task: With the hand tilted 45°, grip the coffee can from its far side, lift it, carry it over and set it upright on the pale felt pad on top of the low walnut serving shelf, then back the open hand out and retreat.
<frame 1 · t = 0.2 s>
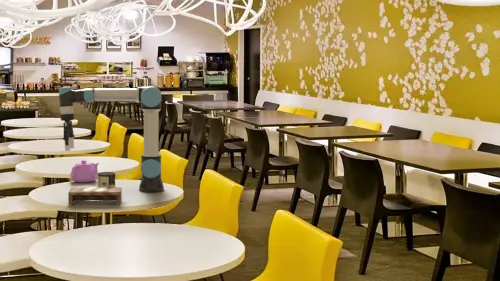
hand: (69, 149, 405), 27 cm above the table, tool pointing down, fingers open, 13 cm apart
teapot: (86, 181, 451), on the table
coffee can: (106, 197, 404), on the table
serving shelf: (95, 202, 388), on the table
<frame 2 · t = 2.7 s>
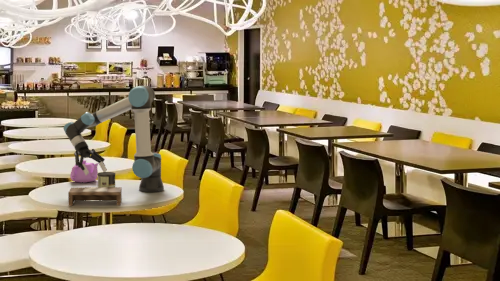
hand: (96, 172, 407), 14 cm above the table, tool tilted 45°, fingers open, 13 cm apart
nothing on the table moved.
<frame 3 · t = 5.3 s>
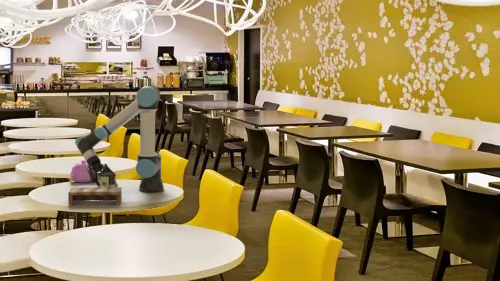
hand: (110, 188, 402), 6 cm above the table, tool tilted 45°, fingers closed on coffee can, 10 cm apart
coffee can: (106, 197, 404), on the table, touching gripper
everything else where it was.
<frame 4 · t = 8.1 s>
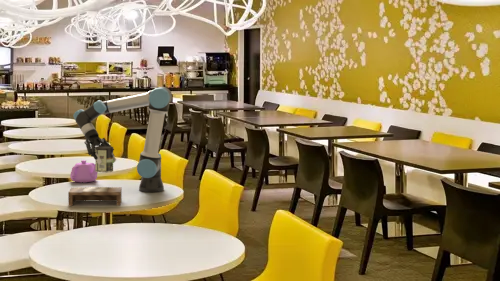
hand: (107, 162, 399), 21 cm above the table, tool tilted 45°, fingers closed on coffee can, 10 cm apart
coffee can: (104, 171, 401), point 15 cm above the table, touching gripper
everything else where it was.
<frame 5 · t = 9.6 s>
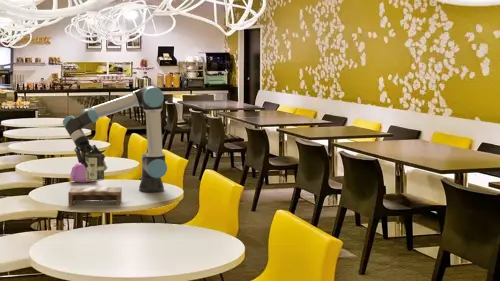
hand: (98, 170, 384), 19 cm above the table, tool tilted 45°, fingers closed on coffee can, 10 cm apart
coffee can: (95, 179, 386), point 13 cm above the table, touching gripper
everything else where it was.
when the fingers open (15 cm above the table, at t = 10.9 s): coffee can drops 2 cm, resting on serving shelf.
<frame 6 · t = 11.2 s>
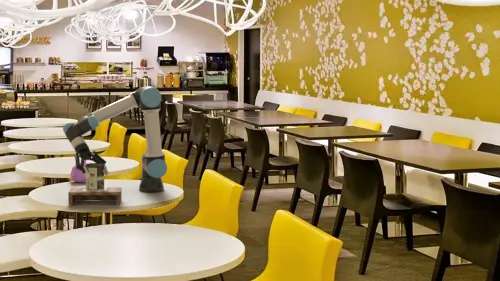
hand: (98, 175, 385), 16 cm above the table, tool tilted 45°, fingers open, 13 cm apart
coffee can: (95, 189, 387), point 8 cm above the table, touching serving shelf
everything else where it was.
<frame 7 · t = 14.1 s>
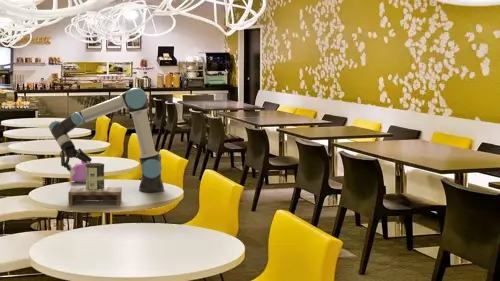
hand: (83, 173, 392), 16 cm above the table, tool tilted 45°, fingers open, 13 cm apart
nothing on the table moved.
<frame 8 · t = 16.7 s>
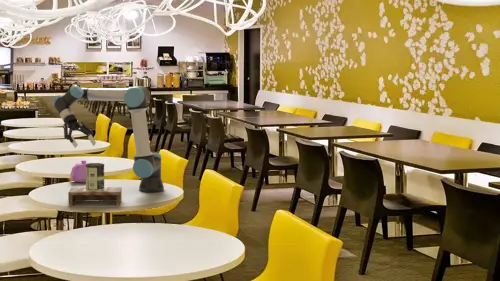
hand: (85, 145, 405), 30 cm above the table, tool tilted 45°, fingers open, 13 cm apart
nothing on the table moved.
at the end: coffee can inside the target area on the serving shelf (0.2 cm from its centre), point 7.6 cm above the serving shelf's base; coffee can tilted 0°; the gripper is holding nothing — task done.
